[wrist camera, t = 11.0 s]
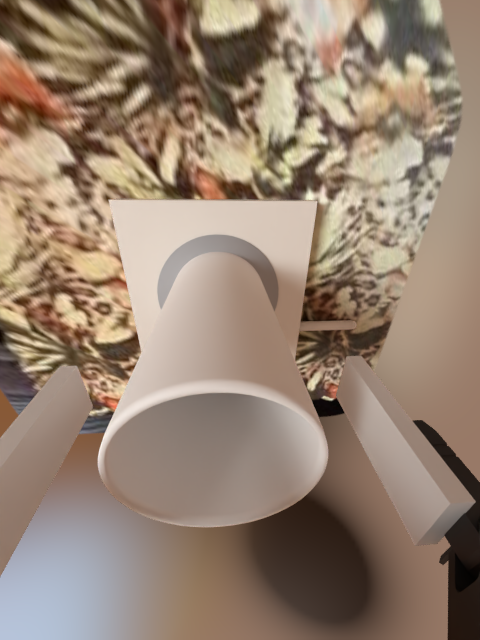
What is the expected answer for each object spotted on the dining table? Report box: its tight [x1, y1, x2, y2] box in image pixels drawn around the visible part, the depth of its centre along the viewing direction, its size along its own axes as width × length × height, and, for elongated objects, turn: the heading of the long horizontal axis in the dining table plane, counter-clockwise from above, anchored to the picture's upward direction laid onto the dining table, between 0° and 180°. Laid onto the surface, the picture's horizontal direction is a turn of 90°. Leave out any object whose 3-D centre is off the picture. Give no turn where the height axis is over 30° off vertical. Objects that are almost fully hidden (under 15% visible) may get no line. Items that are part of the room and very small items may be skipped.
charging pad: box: [109, 199, 357, 360], centre depth 24 cm, size 16×22×2 cm
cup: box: [98, 252, 328, 527], centre depth 16 cm, size 8×8×16 cm
